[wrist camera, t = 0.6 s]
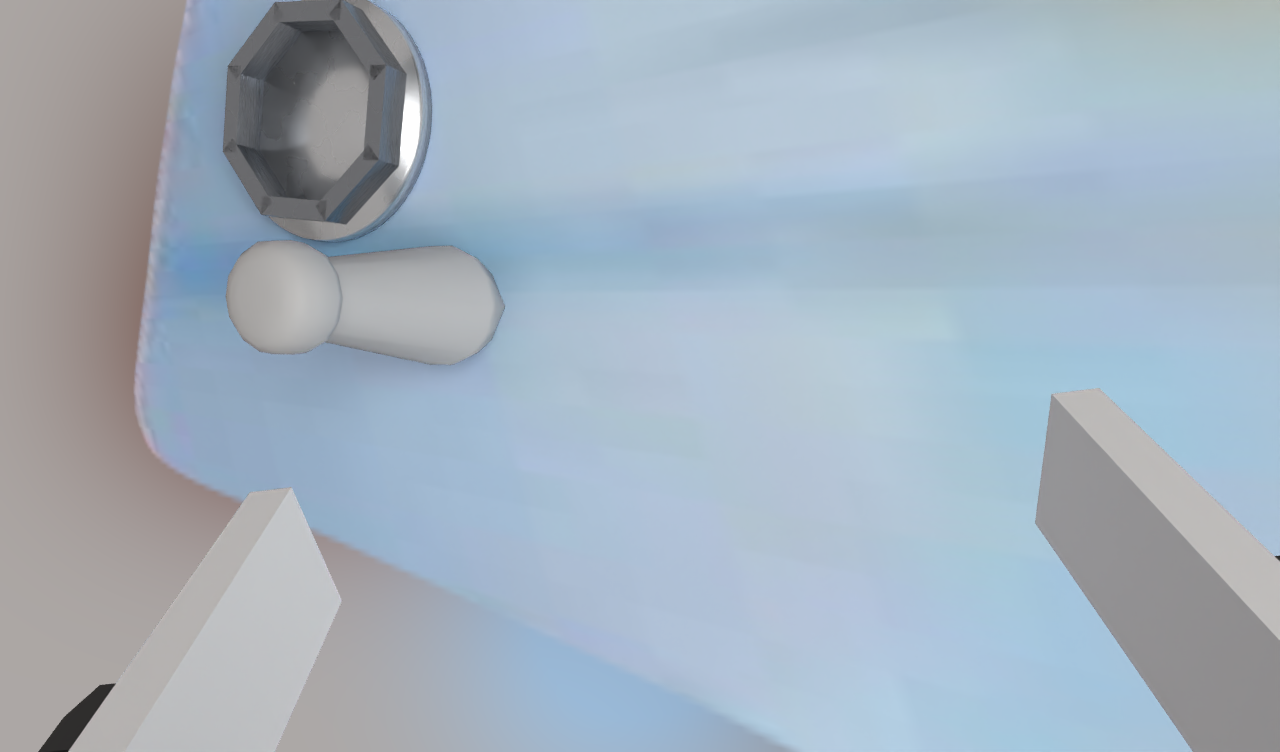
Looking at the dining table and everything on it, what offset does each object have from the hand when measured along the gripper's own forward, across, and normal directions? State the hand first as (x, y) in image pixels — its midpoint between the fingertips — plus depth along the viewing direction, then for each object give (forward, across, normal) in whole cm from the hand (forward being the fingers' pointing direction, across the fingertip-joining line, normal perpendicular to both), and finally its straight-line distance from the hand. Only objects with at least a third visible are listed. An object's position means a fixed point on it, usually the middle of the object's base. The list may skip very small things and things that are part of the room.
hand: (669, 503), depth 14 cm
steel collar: (+34, -17, +2) cm, 38 cm away
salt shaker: (+26, -10, -6) cm, 29 cm away
